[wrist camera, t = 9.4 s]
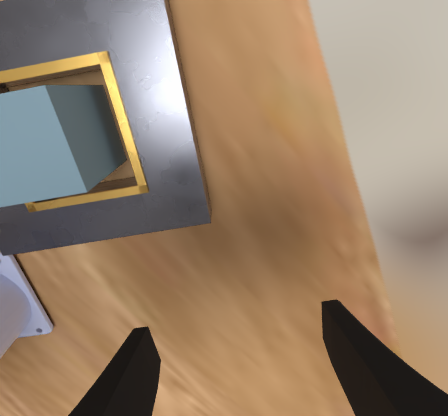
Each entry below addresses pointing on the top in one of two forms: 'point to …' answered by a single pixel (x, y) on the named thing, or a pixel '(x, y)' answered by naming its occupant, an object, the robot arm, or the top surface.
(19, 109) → the peg
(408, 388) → the robot arm
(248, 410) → the top surface
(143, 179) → the square hole plate
